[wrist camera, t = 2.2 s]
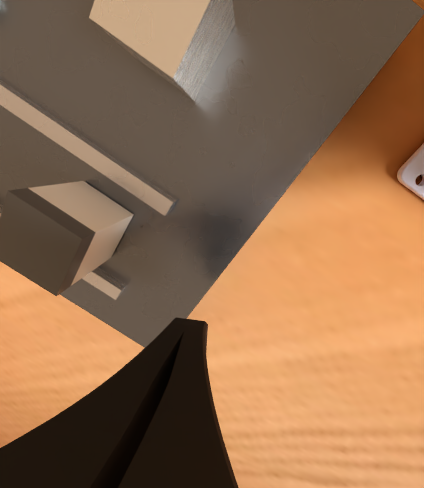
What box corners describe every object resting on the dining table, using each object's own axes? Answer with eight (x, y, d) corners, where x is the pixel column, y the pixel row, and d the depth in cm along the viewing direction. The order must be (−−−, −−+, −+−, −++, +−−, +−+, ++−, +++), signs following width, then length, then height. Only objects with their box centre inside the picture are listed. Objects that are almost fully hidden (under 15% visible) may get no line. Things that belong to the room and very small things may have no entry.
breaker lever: (133, 214, 12) (81, 238, 8) (111, 257, 13) (56, 296, 9) (83, 180, 12) (7, 190, 8) (64, 227, 13) (-11, 254, 9)
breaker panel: (392, 39, 10) (517, -66, 5) (167, 334, 17) (136, 399, 12) (-33, -300, 9) (-364, -837, 4) (-84, 174, 16) (-223, 181, 11)
